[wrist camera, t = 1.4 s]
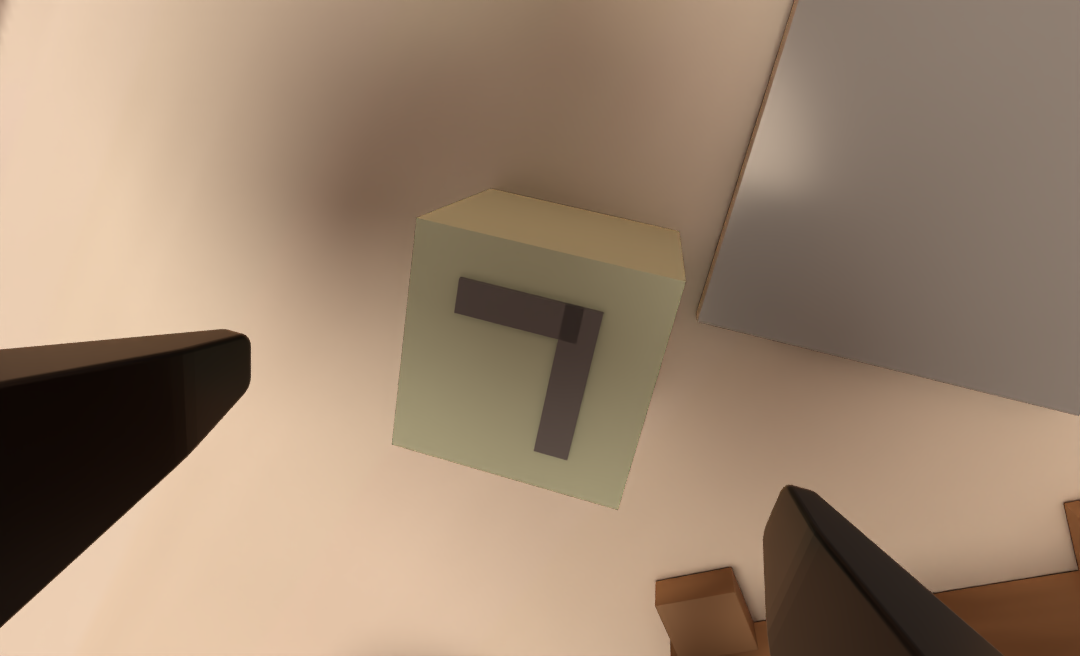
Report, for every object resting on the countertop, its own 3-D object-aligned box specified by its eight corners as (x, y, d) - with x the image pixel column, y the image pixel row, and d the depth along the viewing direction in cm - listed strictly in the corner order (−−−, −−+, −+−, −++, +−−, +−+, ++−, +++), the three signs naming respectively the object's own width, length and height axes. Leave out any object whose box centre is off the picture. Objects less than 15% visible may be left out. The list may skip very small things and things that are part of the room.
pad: (1315, -12, 11) (1351, -20, 10) (1062, 404, 14) (1078, 415, 13) (822, -90, 12) (830, -100, 11) (696, 314, 15) (697, 321, 15)
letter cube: (679, 230, 15) (686, 283, 10) (630, 400, 16) (616, 513, 12) (487, 187, 15) (407, 217, 10) (461, 355, 17) (384, 445, 12)
